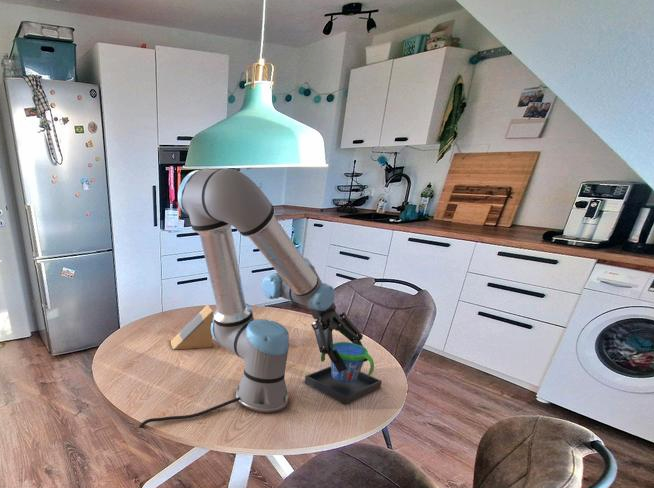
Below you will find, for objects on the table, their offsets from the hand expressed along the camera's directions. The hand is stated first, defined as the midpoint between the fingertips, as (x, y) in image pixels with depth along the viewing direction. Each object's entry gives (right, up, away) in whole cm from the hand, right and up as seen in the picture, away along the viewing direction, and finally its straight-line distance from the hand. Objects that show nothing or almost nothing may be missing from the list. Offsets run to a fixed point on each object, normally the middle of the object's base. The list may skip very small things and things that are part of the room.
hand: (354, 365), depth 117 cm
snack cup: (-2, -4, +5) cm, 6 cm away
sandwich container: (-49, +6, +36) cm, 61 cm away
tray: (-2, -6, +6) cm, 9 cm away
